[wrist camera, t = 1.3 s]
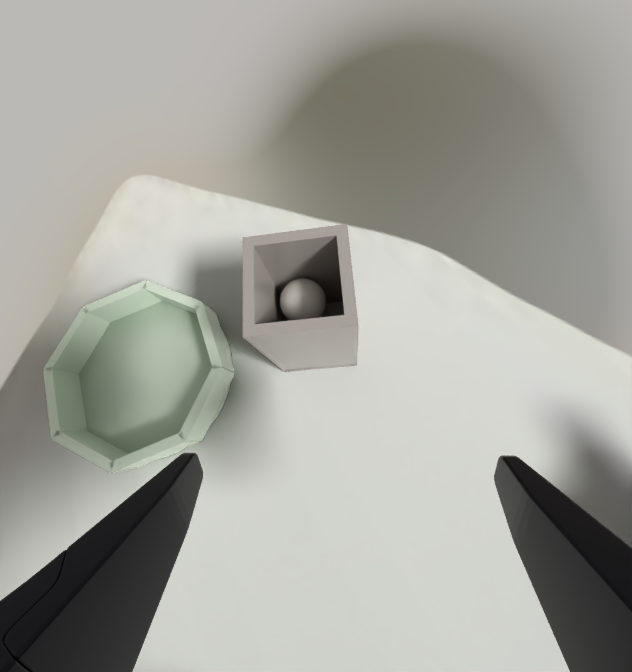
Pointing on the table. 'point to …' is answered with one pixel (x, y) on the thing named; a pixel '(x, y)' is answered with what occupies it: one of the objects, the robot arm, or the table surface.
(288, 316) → the pebble
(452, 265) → the table surface
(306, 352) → the tumbler
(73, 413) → the dish
